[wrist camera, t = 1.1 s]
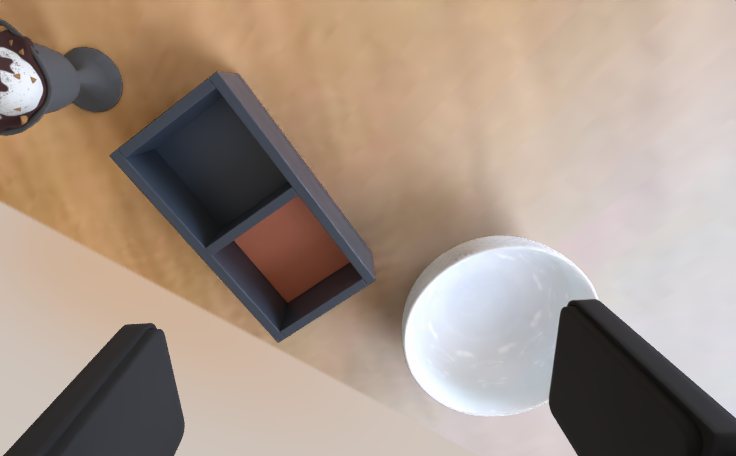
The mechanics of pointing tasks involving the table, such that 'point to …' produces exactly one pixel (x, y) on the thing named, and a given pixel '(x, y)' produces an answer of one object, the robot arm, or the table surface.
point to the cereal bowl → (489, 324)
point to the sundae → (50, 80)
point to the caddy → (248, 205)
